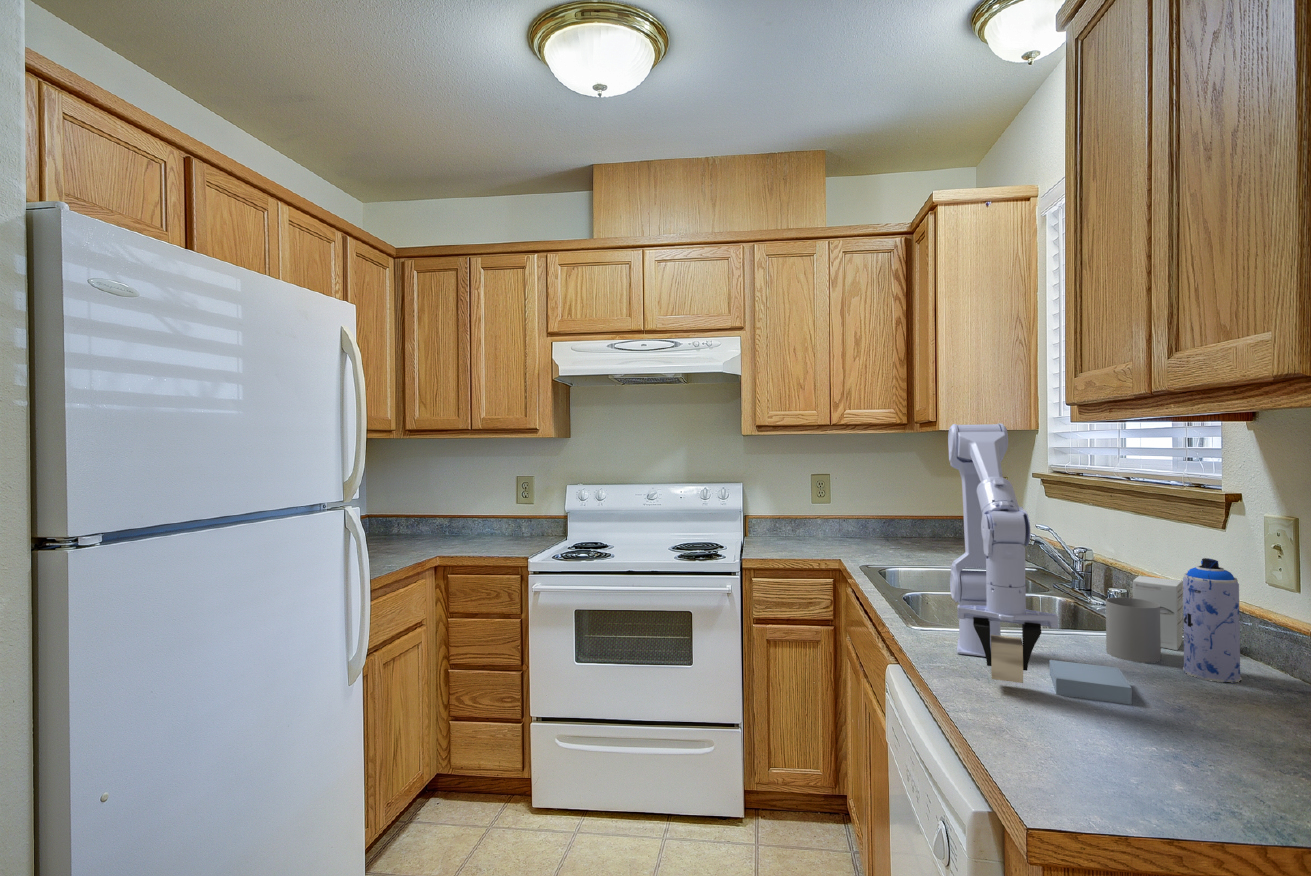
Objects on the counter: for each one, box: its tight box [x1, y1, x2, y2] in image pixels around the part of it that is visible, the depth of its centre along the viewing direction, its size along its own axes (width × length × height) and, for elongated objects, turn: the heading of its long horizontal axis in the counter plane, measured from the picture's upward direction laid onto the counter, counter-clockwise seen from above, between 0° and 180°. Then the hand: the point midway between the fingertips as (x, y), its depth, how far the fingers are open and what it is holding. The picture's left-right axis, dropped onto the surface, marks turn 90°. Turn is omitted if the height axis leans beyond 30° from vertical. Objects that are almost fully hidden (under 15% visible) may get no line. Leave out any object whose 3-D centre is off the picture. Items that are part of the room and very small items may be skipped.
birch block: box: [990, 635, 1024, 684], centre depth 109 cm, size 4×4×6 cm
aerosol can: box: [1182, 557, 1243, 683], centre depth 115 cm, size 8×8×20 cm
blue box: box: [1049, 659, 1133, 705], centre depth 109 cm, size 10×10×3 cm
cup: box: [1105, 596, 1162, 663], centre depth 125 cm, size 8×8×10 cm
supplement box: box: [1132, 575, 1184, 651], centre depth 133 cm, size 7×7×13 cm
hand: (1006, 666), depth 109 cm, fingers closed on birch block, 4 cm apart
